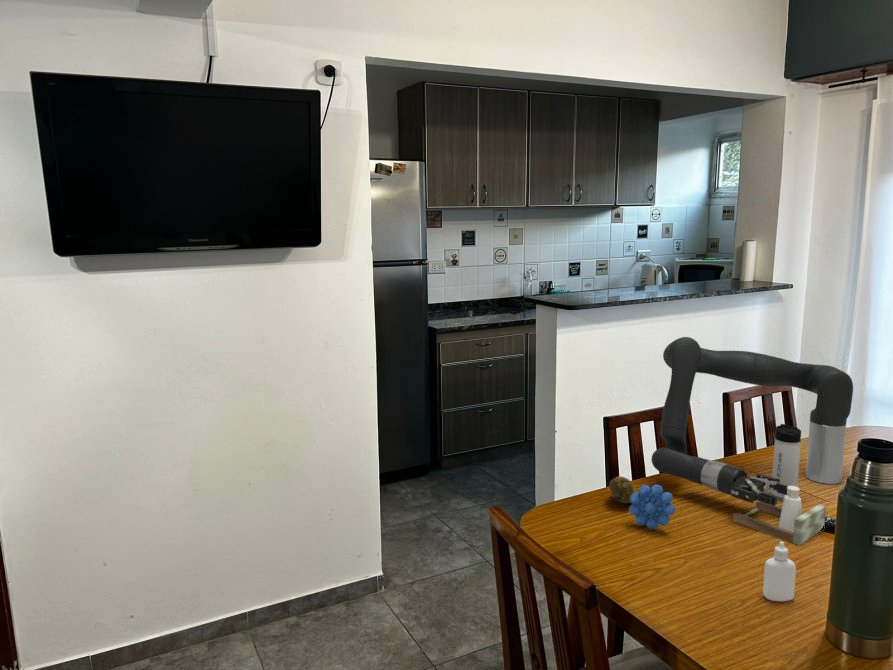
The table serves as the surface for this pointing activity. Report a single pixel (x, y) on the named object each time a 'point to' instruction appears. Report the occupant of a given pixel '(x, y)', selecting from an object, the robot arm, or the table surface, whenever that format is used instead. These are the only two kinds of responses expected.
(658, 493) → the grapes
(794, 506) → the salt shaker
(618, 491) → the potato
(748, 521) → the frame
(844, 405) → the robot arm
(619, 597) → the table surface
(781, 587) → the eye dropper bottle
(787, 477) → the travel mug
